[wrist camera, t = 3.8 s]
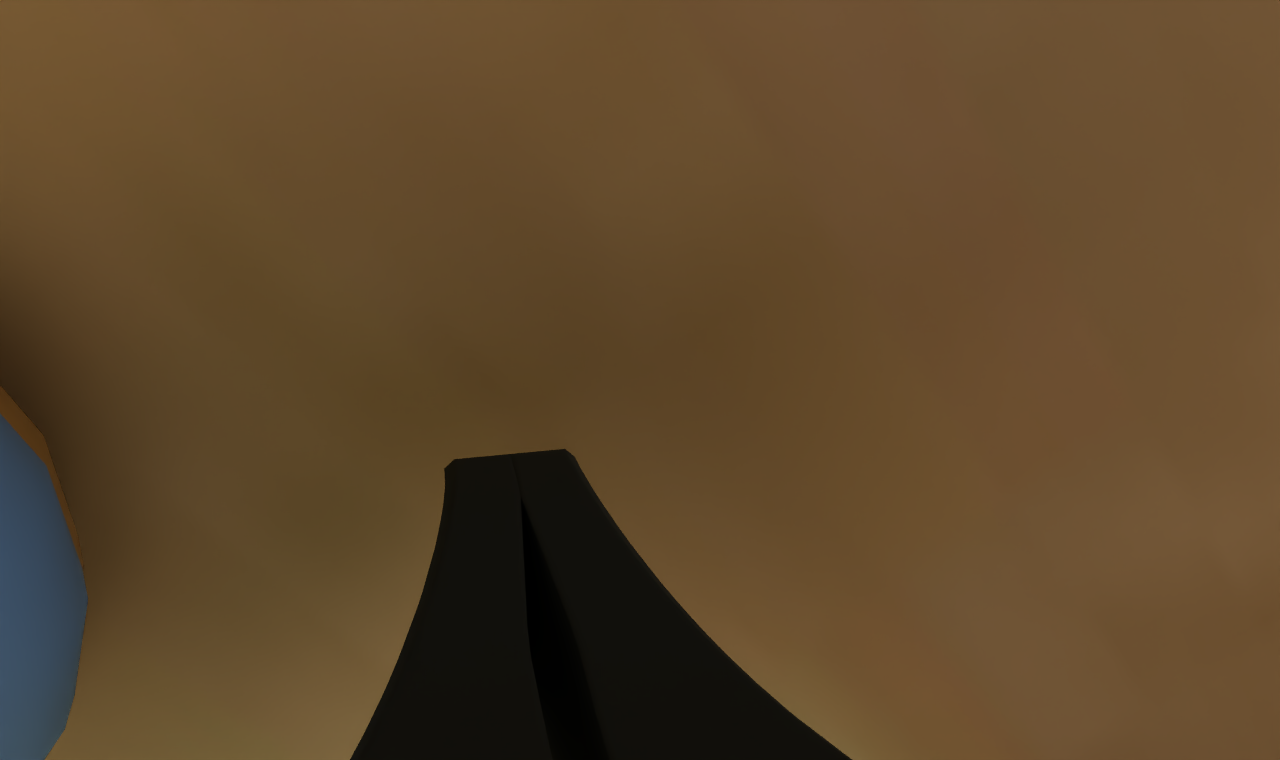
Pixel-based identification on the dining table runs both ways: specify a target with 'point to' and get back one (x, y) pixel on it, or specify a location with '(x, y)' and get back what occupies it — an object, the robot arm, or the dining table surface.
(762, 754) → the robot arm
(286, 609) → the dining table surface
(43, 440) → the doughnut
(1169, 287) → the dining table surface
